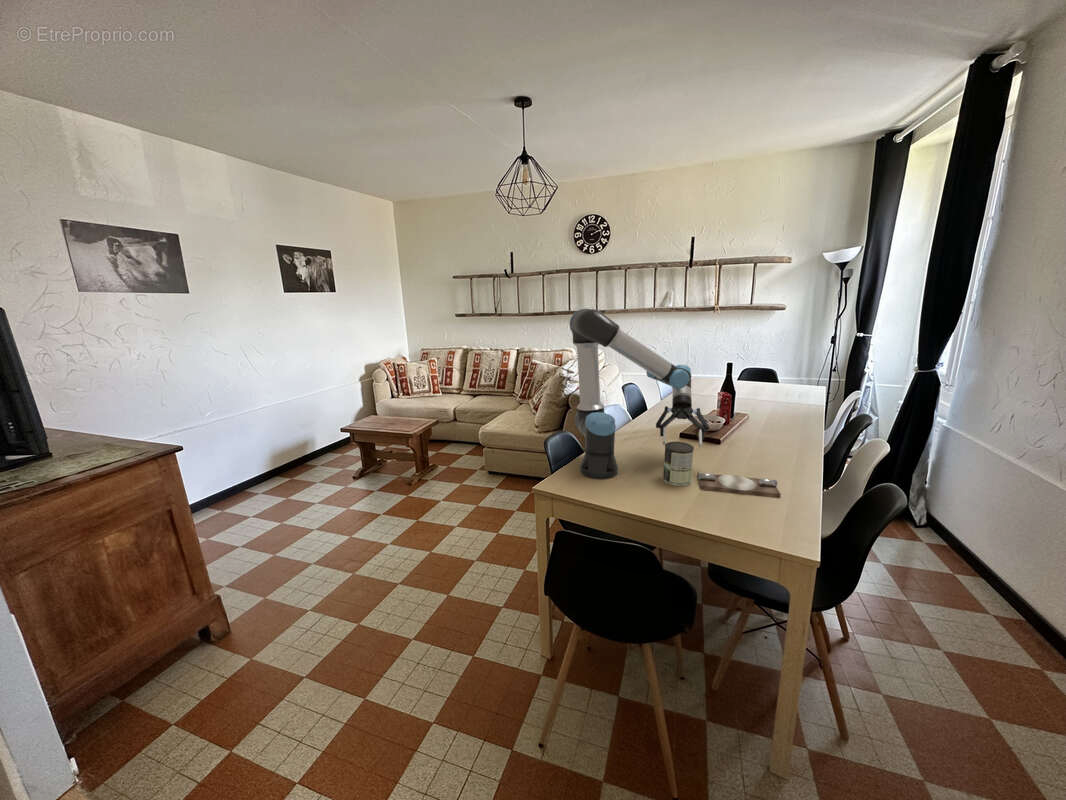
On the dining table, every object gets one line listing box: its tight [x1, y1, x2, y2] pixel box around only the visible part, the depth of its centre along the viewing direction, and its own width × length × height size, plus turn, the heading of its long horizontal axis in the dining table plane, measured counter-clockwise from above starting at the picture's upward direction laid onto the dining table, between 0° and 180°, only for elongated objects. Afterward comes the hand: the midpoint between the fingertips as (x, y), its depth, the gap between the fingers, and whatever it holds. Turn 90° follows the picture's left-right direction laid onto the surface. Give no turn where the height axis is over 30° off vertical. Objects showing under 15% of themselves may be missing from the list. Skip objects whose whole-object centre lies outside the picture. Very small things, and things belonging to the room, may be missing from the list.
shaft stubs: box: [698, 472, 778, 488], centre depth 152 cm, size 26×2×2 cm, turn 74°
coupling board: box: [696, 472, 781, 499], centre depth 152 cm, size 26×13×2 cm, turn 74°
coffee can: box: [662, 441, 695, 487], centre depth 156 cm, size 10×10×14 cm
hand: (682, 444), depth 161 cm, fingers open, 13 cm apart
